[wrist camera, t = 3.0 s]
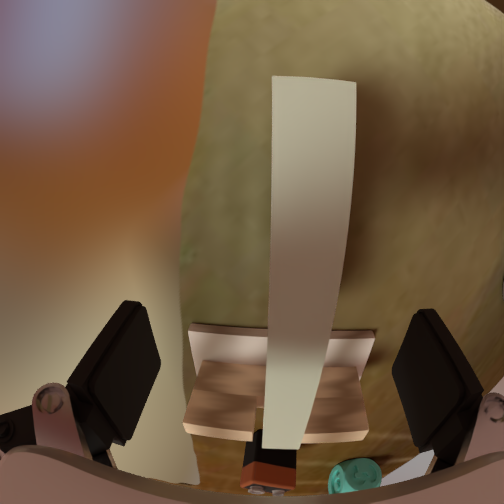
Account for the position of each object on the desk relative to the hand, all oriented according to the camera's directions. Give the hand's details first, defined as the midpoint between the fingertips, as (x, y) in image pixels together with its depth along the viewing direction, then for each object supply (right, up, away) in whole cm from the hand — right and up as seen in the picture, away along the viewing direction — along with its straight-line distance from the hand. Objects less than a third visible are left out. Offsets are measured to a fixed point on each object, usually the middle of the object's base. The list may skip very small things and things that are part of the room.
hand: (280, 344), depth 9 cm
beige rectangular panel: (+2, +6, +12) cm, 14 cm away
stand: (+2, -9, +19) cm, 21 cm away
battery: (+2, -26, +27) cm, 37 cm away
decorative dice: (+19, -39, +31) cm, 53 cm away
